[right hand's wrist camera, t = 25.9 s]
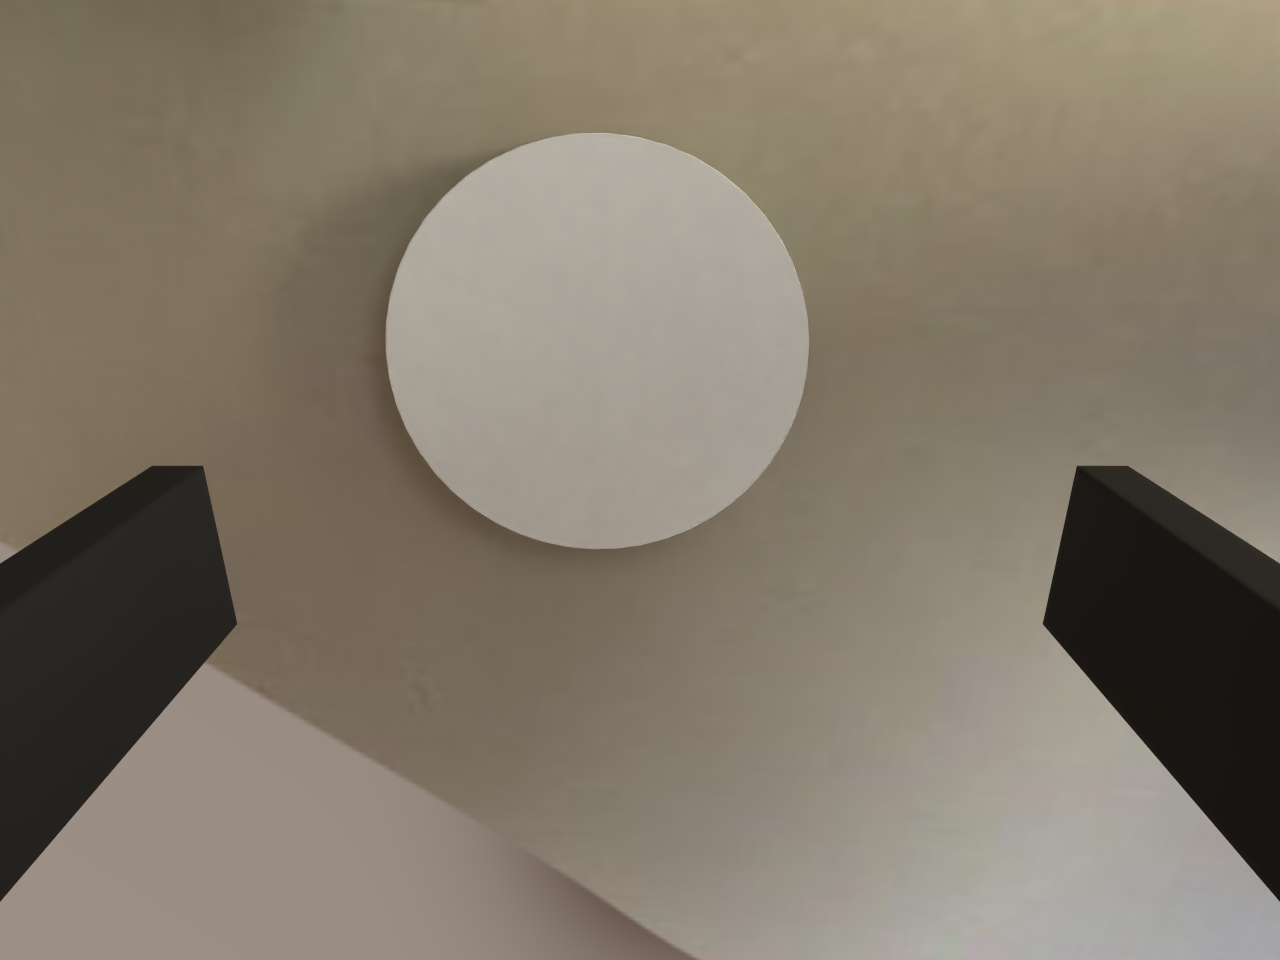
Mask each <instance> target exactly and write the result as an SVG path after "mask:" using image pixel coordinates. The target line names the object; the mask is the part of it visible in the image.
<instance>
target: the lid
mask: <svg viewBox="0 0 1280 960" xmlns="http://www.w3.org/2000/svg"><path fill="white" fill-rule="evenodd" d="M808 355H809V331H808V316H807V311H806V306H805V301H804V296H803V291H802V288H801V285H800V282H799V279H798V276H797V273H796V270H795V267H794V264H793V262H792V260H791V258H790V256H789V254H788V252H787V250H786V248H785V246H784V244H783V242H782V240H781V238H780V236H779V235H778V233H777V232H776V231H775V229H774V228H773V226H772V225H771V223H770V222H769V220H768V219H767V217H766V216H765V214H764V213H763V212H762V211H761V210H760V209H759V208H758V207H757V206H756V204H755V203H754V202H753V201H752V200H751V199H750V198H749V197H748V196H747V195H746V193H745V192H743V191H742V190H741V189H740V188H739V187H737V186H736V185H735V184H734V183H733V182H731V181H730V180H729V179H728V178H727V177H725V176H724V175H723V174H722V173H720V172H719V171H717V170H716V169H714V168H712V167H711V166H709V165H707V164H706V163H704V162H703V161H701V160H699V159H698V158H696V157H694V156H692V155H689V154H687V153H685V152H683V151H680V150H678V149H676V148H674V147H671V146H669V145H666V144H662V143H659V142H655V141H652V140H648V139H645V138H641V137H636V136H629V135H621V134H614V133H575V134H568V135H562V136H555V137H549V138H545V139H542V140H538V141H535V142H532V143H528V144H525V145H522V146H518V147H516V148H514V149H512V150H510V151H508V152H506V153H503V154H501V155H499V156H497V157H495V158H493V159H491V160H489V161H488V162H486V163H485V164H483V165H482V166H480V167H479V168H477V169H476V170H474V171H472V172H471V173H469V174H468V175H466V176H465V177H464V178H463V179H462V180H461V181H459V182H458V183H457V184H456V185H455V186H454V187H453V188H452V189H450V190H449V191H448V192H447V193H446V194H445V195H444V196H443V197H442V198H441V199H440V200H439V202H438V203H437V204H436V205H435V206H434V207H433V209H432V210H431V211H430V212H429V213H428V215H427V216H426V217H425V218H424V220H423V221H422V223H421V225H420V226H419V228H418V229H417V231H416V232H415V234H414V236H413V237H412V239H411V240H410V242H409V244H408V246H407V249H406V251H405V253H404V255H403V258H402V260H401V262H400V264H399V266H398V269H397V272H396V276H395V279H394V283H393V286H392V290H391V293H390V297H389V304H388V311H387V318H386V359H387V366H388V374H389V380H390V384H391V388H392V391H393V395H394V399H395V403H396V406H397V408H398V411H399V413H400V415H401V418H402V420H403V423H404V425H405V428H406V430H407V432H408V433H409V435H410V437H411V439H412V440H413V442H414V444H415V446H416V447H417V449H418V451H419V453H420V454H421V455H422V457H423V458H424V459H425V461H426V462H427V463H428V465H429V466H430V467H431V469H432V470H433V471H434V473H435V474H436V475H437V476H438V477H439V478H440V479H441V480H442V481H443V482H444V483H445V484H446V485H447V486H448V487H449V489H450V490H451V491H452V492H453V493H455V494H456V495H457V496H458V497H459V498H461V499H462V500H463V501H464V502H466V503H467V504H468V505H469V506H471V507H472V508H473V509H474V510H476V511H478V512H479V513H481V514H482V515H484V516H486V517H487V518H489V519H490V520H492V521H493V522H495V523H497V524H499V525H501V526H503V527H505V528H508V529H510V530H512V531H514V532H516V533H518V534H521V535H524V536H527V537H530V538H533V539H536V540H539V541H542V542H546V543H551V544H555V545H560V546H565V547H573V548H584V549H618V548H625V547H632V546H640V545H644V544H648V543H652V542H656V541H660V540H663V539H667V538H669V537H672V536H674V535H677V534H680V533H682V532H685V531H687V530H690V529H691V528H693V527H695V526H697V525H699V524H701V523H703V522H704V521H706V520H708V519H710V518H712V517H713V516H715V515H716V514H717V513H719V512H720V511H722V510H723V509H724V508H726V507H727V506H729V505H730V504H732V503H733V502H734V501H735V500H736V499H737V498H738V497H739V496H741V495H742V494H743V493H744V492H745V491H746V490H747V489H748V488H749V487H750V486H751V485H752V484H753V483H754V482H755V481H756V480H757V478H758V477H759V476H760V475H761V474H762V473H763V471H764V470H765V469H766V468H767V467H768V465H769V464H770V462H771V461H772V459H773V458H774V456H775V455H776V453H777V452H778V450H779V449H780V447H781V446H782V444H783V442H784V440H785V438H786V436H787V434H788V432H789V430H790V428H791V426H792V424H793V422H794V419H795V416H796V413H797V410H798V407H799V404H800V402H801V399H802V395H803V390H804V385H805V380H806V375H807V369H808Z"/></svg>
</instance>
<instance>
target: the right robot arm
mask: <svg viewBox="0 0 1280 960" xmlns="http://www.w3.org/2000/svg"><path fill="white" fill-rule="evenodd" d="M236 625H237V621H236V616H235V612H234V607H233V602H232V598H231V593H230V588H229V584H228V579H227V575H226V570H225V565H224V561H223V556H222V551H221V547H220V542H219V537H218V533H217V528H216V524H215V519H214V514H213V510H212V505H211V500H210V496H209V491H208V486H207V482H206V477H205V473H204V468H203V466H151V467H150V468H148V469H147V470H145V471H143V472H142V473H140V474H139V475H137V476H136V477H134V478H133V479H131V480H129V481H128V482H126V483H125V484H123V485H122V486H120V487H119V488H117V489H116V490H114V491H112V492H111V493H109V494H108V495H106V496H105V497H103V498H102V499H100V500H98V501H97V502H95V503H94V504H92V505H91V506H89V507H88V508H86V509H84V510H83V511H81V512H80V513H78V514H77V515H75V516H74V517H72V518H70V519H69V520H67V521H66V522H64V523H63V524H61V525H60V526H58V527H56V528H55V529H53V530H52V531H50V532H49V533H47V534H46V535H44V536H42V537H41V538H39V539H38V540H36V541H35V542H33V543H32V544H30V545H28V546H27V547H25V548H24V549H22V550H21V551H19V552H18V553H16V554H14V555H13V556H11V557H10V558H8V559H7V560H5V561H4V562H2V563H0V901H1V900H2V899H3V898H4V896H5V895H6V894H7V893H8V892H9V891H10V889H11V888H12V887H13V886H14V885H15V884H16V882H17V881H18V880H19V879H20V878H21V877H22V875H23V874H24V873H25V872H26V871H27V870H28V868H29V867H30V866H31V865H32V864H33V863H34V861H35V860H36V859H37V858H38V857H39V855H40V854H41V853H42V852H43V851H44V850H45V848H46V847H47V846H48V845H49V844H50V843H51V841H52V840H53V839H54V838H55V837H56V836H57V834H58V833H59V832H60V831H61V830H62V829H63V827H64V826H65V825H66V824H67V823H68V822H69V820H70V819H71V818H72V817H73V816H74V815H75V813H76V812H77V811H78V810H79V809H80V807H81V806H82V805H83V804H84V803H85V802H86V800H87V799H88V798H89V797H90V796H91V795H92V793H93V792H94V791H95V790H96V789H97V788H98V786H99V785H100V784H101V783H102V782H103V781H104V779H105V778H106V777H107V776H108V775H109V773H110V772H111V771H112V770H113V769H114V768H115V767H116V765H117V764H118V763H119V762H120V761H121V759H122V758H123V757H124V756H125V755H126V754H127V752H128V751H129V750H130V749H131V748H132V746H133V745H134V744H135V743H136V742H137V741H138V740H139V738H140V737H141V736H142V735H143V734H144V733H145V731H146V730H147V729H148V728H149V727H150V726H151V724H152V723H153V722H154V721H155V720H156V718H157V717H158V716H159V715H160V714H161V713H162V711H163V710H164V709H165V708H166V707H167V706H168V704H169V703H170V702H171V701H172V700H173V699H174V697H175V696H176V695H177V694H178V693H179V692H180V690H181V689H182V688H183V687H184V686H185V684H186V683H187V682H188V681H189V680H190V679H191V677H192V676H193V675H194V674H195V673H196V672H197V670H198V669H199V668H200V667H201V666H202V665H203V663H204V662H205V661H206V660H207V659H208V658H209V656H210V655H211V654H212V653H213V652H214V651H215V649H216V648H217V647H218V646H219V645H220V644H221V642H222V641H223V640H224V639H225V638H226V636H227V635H228V634H229V633H230V632H231V631H232V629H233V628H234V627H235V626H236ZM1043 625H1044V626H1045V627H1046V628H1047V629H1048V631H1049V632H1050V633H1051V634H1052V635H1053V636H1054V638H1055V639H1056V640H1057V641H1058V642H1059V644H1060V645H1061V646H1062V647H1063V648H1064V649H1065V651H1066V652H1067V653H1068V654H1069V655H1070V656H1071V658H1072V659H1073V660H1074V661H1075V662H1076V663H1077V665H1078V666H1079V667H1080V668H1081V669H1082V670H1083V672H1084V673H1085V674H1086V675H1087V676H1088V677H1089V679H1090V680H1091V681H1092V682H1093V683H1094V685H1095V686H1096V687H1097V688H1098V689H1099V690H1100V692H1101V693H1102V694H1103V695H1104V696H1105V697H1106V699H1107V700H1108V701H1109V702H1110V703H1111V704H1112V706H1113V707H1114V708H1115V709H1116V710H1117V711H1118V713H1119V714H1120V715H1121V716H1122V717H1123V718H1124V720H1125V721H1126V722H1127V723H1128V724H1129V726H1130V727H1131V728H1132V729H1133V730H1134V731H1135V733H1136V734H1137V735H1138V736H1139V737H1140V738H1141V740H1142V741H1143V742H1144V743H1145V744H1146V745H1147V747H1148V748H1149V749H1150V750H1151V751H1152V752H1153V754H1154V755H1155V756H1156V757H1157V758H1158V759H1159V761H1160V762H1161V763H1162V764H1163V765H1164V767H1165V768H1166V769H1167V770H1168V771H1169V772H1170V774H1171V775H1172V776H1173V777H1174V778H1175V779H1176V781H1177V782H1178V783H1179V784H1180V785H1181V786H1182V788H1183V789H1184V790H1185V791H1186V792H1187V793H1188V795H1189V796H1190V797H1191V798H1192V799H1193V800H1194V802H1195V803H1196V804H1197V805H1198V806H1199V807H1200V809H1201V810H1202V811H1203V812H1204V813H1205V815H1206V816H1207V817H1208V818H1209V819H1210V820H1211V822H1212V823H1213V824H1214V825H1215V826H1216V827H1217V829H1218V830H1219V831H1220V832H1221V833H1222V834H1223V836H1224V837H1225V838H1226V839H1227V840H1228V841H1229V843H1230V844H1231V845H1232V846H1233V847H1234V848H1235V850H1236V851H1237V852H1238V853H1239V854H1240V856H1241V857H1242V858H1243V859H1244V860H1245V861H1246V863H1247V864H1248V865H1249V866H1250V867H1251V868H1252V870H1253V871H1254V872H1255V873H1256V874H1257V875H1258V877H1259V878H1260V879H1261V880H1262V881H1263V882H1264V884H1265V885H1266V886H1267V887H1268V888H1269V889H1270V891H1271V892H1272V893H1273V894H1274V895H1275V897H1276V898H1277V899H1278V900H1279V901H1280V563H1278V562H1276V561H1275V560H1273V559H1272V558H1270V557H1269V556H1267V555H1266V554H1264V553H1262V552H1261V551H1259V550H1258V549H1256V548H1255V547H1253V546H1252V545H1250V544H1248V543H1247V542H1245V541H1244V540H1242V539H1241V538H1239V537H1238V536H1236V535H1234V534H1233V533H1231V532H1230V531H1228V530H1227V529H1225V528H1224V527H1222V526H1220V525H1219V524H1217V523H1216V522H1214V521H1213V520H1211V519H1210V518H1208V517H1206V516H1205V515H1203V514H1202V513H1200V512H1199V511H1197V510H1196V509H1194V508H1192V507H1191V506H1189V505H1188V504H1186V503H1185V502H1183V501H1182V500H1180V499H1178V498H1177V497H1175V496H1174V495H1172V494H1171V493H1169V492H1168V491H1166V490H1164V489H1163V488H1161V487H1160V486H1158V485H1157V484H1155V483H1154V482H1152V481H1151V480H1149V479H1147V478H1146V477H1144V476H1143V475H1141V474H1140V473H1138V472H1137V471H1135V470H1133V469H1132V468H1130V467H1129V466H1077V468H1076V473H1075V477H1074V482H1073V486H1072V491H1071V496H1070V500H1069V505H1068V510H1067V514H1066V519H1065V524H1064V528H1063V533H1062V537H1061V542H1060V547H1059V551H1058V556H1057V561H1056V565H1055V570H1054V575H1053V579H1052V584H1051V588H1050V593H1049V598H1048V602H1047V607H1046V612H1045V616H1044V621H1043Z"/></svg>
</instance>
